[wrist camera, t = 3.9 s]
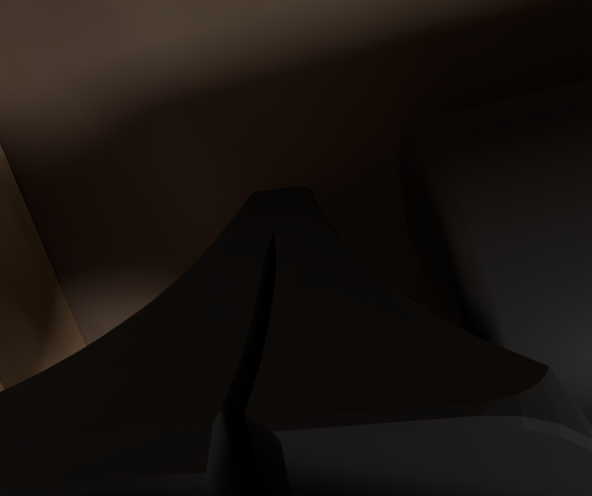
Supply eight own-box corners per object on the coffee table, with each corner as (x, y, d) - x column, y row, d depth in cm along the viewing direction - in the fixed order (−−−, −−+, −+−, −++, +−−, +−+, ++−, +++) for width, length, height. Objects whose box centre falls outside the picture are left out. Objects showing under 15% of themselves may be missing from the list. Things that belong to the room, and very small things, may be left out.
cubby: (819, 365, 14) (933, 469, 12) (74, 423, 15) (31, 530, 13) (1179, -264, 8) (1622, -339, 5) (-177, -87, 9) (-372, -77, 6)
